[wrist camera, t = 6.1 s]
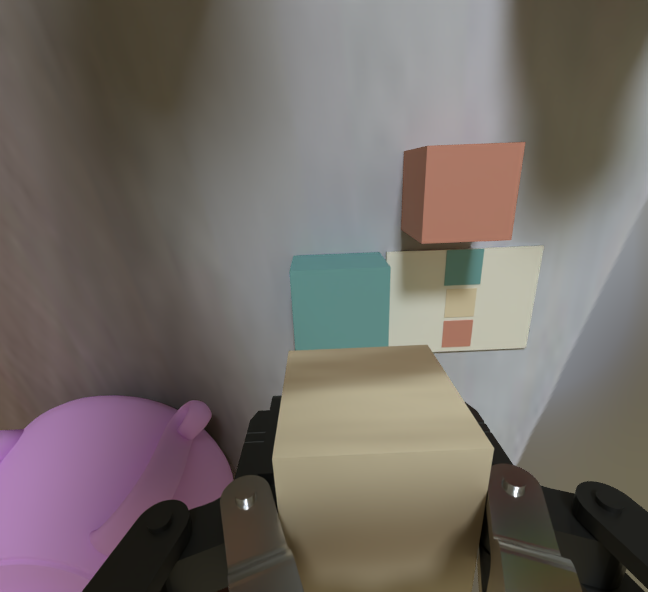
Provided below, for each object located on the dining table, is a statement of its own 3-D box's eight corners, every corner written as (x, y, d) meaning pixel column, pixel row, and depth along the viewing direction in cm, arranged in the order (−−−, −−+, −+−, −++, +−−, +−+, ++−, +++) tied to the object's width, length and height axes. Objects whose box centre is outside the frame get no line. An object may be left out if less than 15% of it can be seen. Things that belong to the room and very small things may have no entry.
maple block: (288, 350, 12) (272, 458, 8) (427, 344, 13) (494, 448, 8) (298, 459, 14) (288, 602, 9) (420, 453, 14) (470, 593, 10)
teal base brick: (293, 255, 24) (289, 271, 21) (379, 252, 24) (390, 266, 21) (298, 333, 26) (296, 360, 23) (377, 329, 26) (388, 356, 23)
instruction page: (386, 251, 24) (387, 252, 24) (542, 245, 24) (544, 246, 24) (383, 352, 27) (384, 354, 27) (524, 346, 27) (526, 348, 27)
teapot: (59, 272, 24) (-232, 387, 11) (299, 431, 30) (285, 636, 17) (-60, 461, 30) (-351, 686, 17) (160, 568, 35) (67, 805, 22)
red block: (403, 151, 22) (427, 145, 18) (481, 148, 22) (525, 142, 18) (400, 229, 24) (421, 243, 19) (472, 226, 24) (511, 239, 19)
